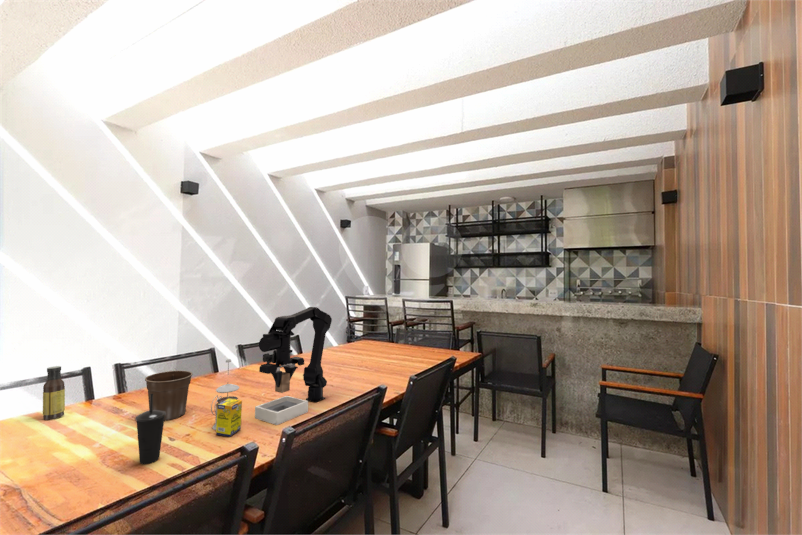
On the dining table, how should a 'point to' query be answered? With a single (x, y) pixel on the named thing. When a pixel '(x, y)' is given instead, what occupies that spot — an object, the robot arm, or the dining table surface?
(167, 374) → the plant pot
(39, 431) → the dining table surface
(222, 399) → the french press
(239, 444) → the dining table surface
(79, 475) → the dining table surface
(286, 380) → the peg
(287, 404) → the socket plate
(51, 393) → the sauce bottle
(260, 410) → the tray
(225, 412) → the supplement box
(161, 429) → the drinking cup
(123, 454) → the dining table surface
